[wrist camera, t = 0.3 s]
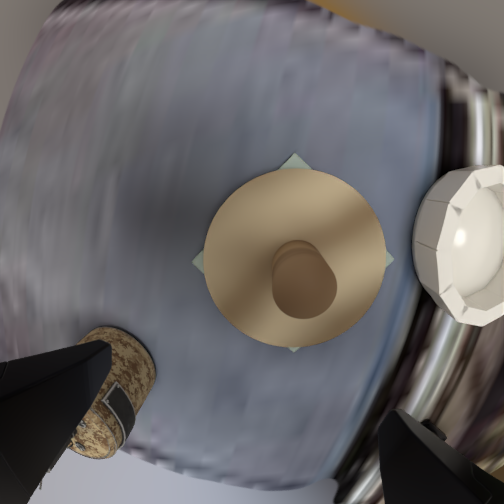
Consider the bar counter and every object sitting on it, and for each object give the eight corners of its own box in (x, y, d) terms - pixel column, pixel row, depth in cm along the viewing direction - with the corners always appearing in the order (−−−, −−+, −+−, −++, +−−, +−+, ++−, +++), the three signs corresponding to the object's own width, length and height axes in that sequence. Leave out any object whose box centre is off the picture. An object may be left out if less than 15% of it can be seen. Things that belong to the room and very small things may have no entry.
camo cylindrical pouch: (89, 376, 24) (5, 476, 9) (85, 313, 22) (-34, 412, 7) (157, 403, 24) (94, 531, 9) (162, 341, 22) (68, 489, 7)
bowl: (521, 239, 18) (549, 248, 14) (451, 329, 20) (474, 351, 16) (467, 139, 17) (498, 134, 13) (382, 238, 19) (406, 250, 15)
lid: (411, 258, 19) (450, 282, 13) (293, 367, 21) (297, 415, 16) (294, 131, 18) (302, 110, 12) (172, 262, 20) (139, 288, 15)
